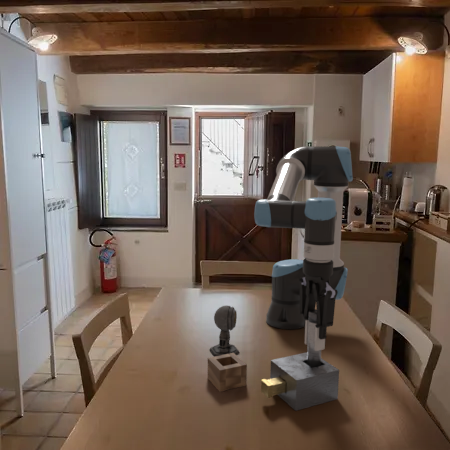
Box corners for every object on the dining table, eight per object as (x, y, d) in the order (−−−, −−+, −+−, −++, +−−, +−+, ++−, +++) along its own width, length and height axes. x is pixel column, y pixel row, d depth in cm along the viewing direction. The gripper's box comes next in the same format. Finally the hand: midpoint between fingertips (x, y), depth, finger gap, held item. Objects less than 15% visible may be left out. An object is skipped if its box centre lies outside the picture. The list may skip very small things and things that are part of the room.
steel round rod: (314, 372, 124) (317, 308, 121) (323, 378, 120) (326, 313, 117) (303, 375, 122) (305, 310, 119) (311, 381, 119) (314, 315, 116)
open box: (233, 372, 131) (233, 352, 130) (246, 385, 124) (246, 364, 123) (207, 378, 128) (207, 357, 127) (219, 391, 121) (219, 370, 120)
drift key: (261, 391, 116) (261, 379, 116) (291, 384, 120) (291, 372, 120) (268, 398, 113) (268, 386, 113) (298, 390, 117) (299, 378, 117)
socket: (269, 388, 123) (270, 360, 122) (309, 378, 128) (310, 351, 127) (295, 410, 112) (296, 380, 111) (337, 399, 118) (339, 369, 117)
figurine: (237, 359, 140) (238, 312, 138) (206, 355, 142) (206, 309, 140) (242, 347, 148) (242, 303, 146) (212, 344, 150) (212, 300, 148)
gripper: (287, 253, 122) (284, 336, 126) (327, 268, 107) (322, 362, 111) (310, 251, 125) (307, 332, 129) (352, 265, 110) (347, 356, 114)
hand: (314, 346), depth 120 cm, fingers closed on steel round rod, 3 cm apart
